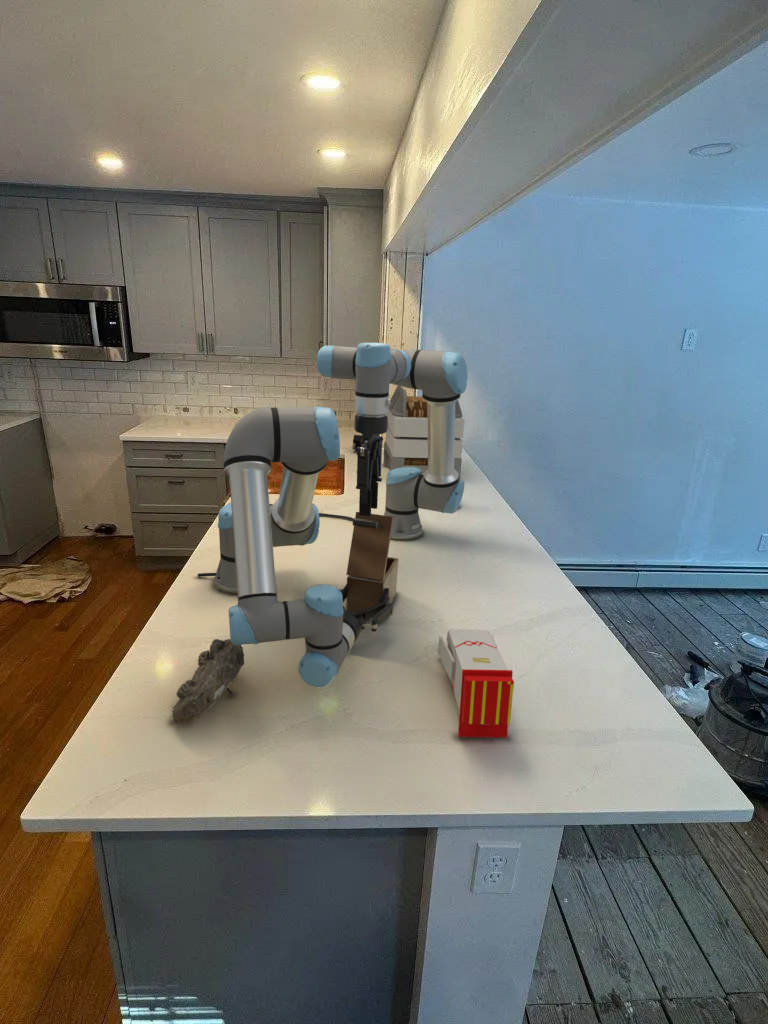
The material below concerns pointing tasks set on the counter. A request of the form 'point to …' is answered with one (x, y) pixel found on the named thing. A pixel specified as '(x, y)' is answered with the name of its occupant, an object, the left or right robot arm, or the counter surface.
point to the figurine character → (356, 441)
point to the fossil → (208, 680)
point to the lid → (370, 546)
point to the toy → (478, 682)
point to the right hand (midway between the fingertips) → (368, 511)
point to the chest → (371, 588)
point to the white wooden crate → (414, 432)
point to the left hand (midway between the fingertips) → (368, 589)
